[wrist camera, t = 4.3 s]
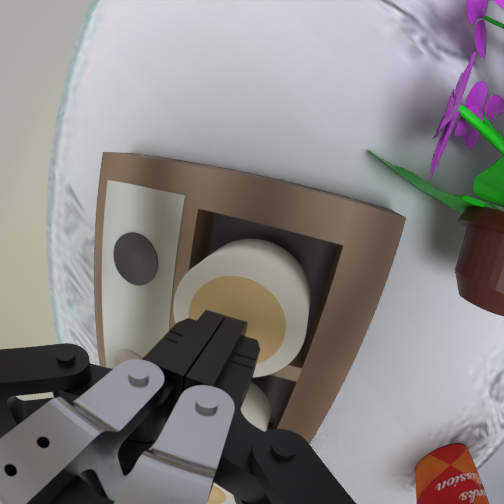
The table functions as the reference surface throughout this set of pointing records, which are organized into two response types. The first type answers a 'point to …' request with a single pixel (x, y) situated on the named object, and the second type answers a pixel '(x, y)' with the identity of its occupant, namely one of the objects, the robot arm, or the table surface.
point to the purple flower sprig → (475, 182)
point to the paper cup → (449, 478)
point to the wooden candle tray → (225, 231)
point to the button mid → (256, 407)
